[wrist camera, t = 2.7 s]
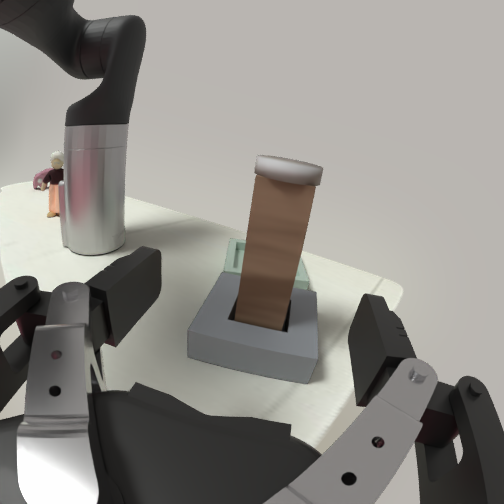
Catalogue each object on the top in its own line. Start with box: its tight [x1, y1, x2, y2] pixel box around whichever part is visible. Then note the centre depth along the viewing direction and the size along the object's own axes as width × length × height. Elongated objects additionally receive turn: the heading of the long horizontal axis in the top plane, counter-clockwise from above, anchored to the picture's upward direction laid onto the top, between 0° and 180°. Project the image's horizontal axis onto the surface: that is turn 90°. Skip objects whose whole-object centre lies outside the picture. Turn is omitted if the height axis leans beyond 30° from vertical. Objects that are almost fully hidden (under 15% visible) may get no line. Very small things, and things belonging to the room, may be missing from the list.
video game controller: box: [33, 168, 53, 189], centre depth 62 cm, size 10×5×7 cm, turn 139°
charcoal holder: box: [187, 272, 318, 384], centre depth 25 cm, size 10×10×3 cm
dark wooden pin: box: [234, 155, 323, 331], centre depth 22 cm, size 5×5×15 cm
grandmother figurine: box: [41, 151, 64, 217], centre depth 43 cm, size 8×4×13 cm, turn 134°
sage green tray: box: [224, 238, 309, 290], centre depth 37 cm, size 10×10×2 cm
